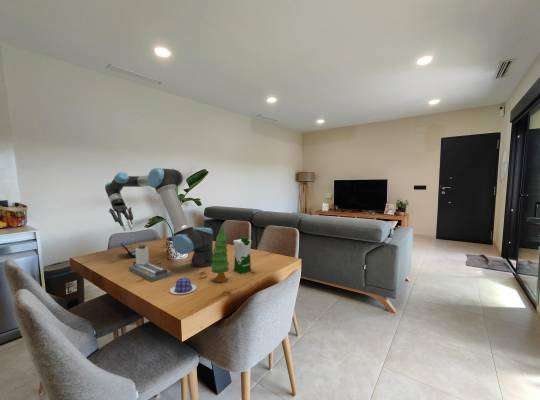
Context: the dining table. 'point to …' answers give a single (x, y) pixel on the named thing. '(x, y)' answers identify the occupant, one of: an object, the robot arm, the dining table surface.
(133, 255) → the game console
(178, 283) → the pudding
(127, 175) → the robot arm
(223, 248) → the decorative tree
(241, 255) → the milk carton
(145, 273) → the fader track
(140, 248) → the fader tab
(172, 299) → the dining table surface
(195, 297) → the dining table surface
